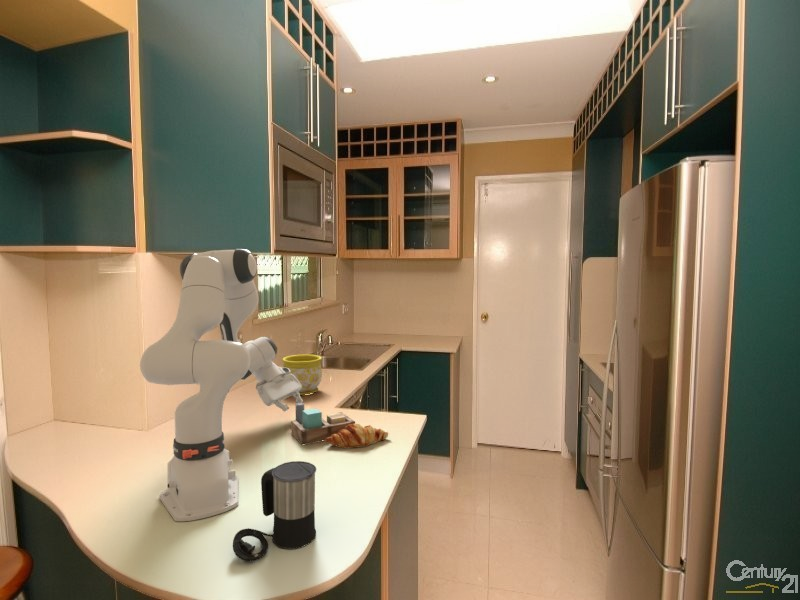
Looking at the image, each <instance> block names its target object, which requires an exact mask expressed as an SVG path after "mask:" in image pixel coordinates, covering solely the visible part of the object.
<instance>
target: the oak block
mask: <svg viewBox="0 0 800 600" xmlns="http://www.w3.org/2000/svg"><path fill="white" fill-rule="evenodd" d="M326 422H327V423H329V424H330V425H331V424H336V423H342V422H345V416H344V415H342V414H341V413H339V412H337V413H332V414H326Z"/></svg>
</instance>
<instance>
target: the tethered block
mask: <svg viewBox="0 0 800 600" xmlns="http://www.w3.org/2000/svg"><path fill="white" fill-rule="evenodd" d="M322 416H323V414H322V411H321V410H319V409H318V408H310V409H305V403H304V402H301V403H297V402H296V403H295V420H296V421H297V422H298V423H299V424H300V425H301V426H302V427H303V428H305V429H310V428H315V427H320V426H322V419H323V417H322Z"/></svg>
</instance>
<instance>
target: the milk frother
mask: <svg viewBox="0 0 800 600" xmlns="http://www.w3.org/2000/svg"><path fill="white" fill-rule="evenodd" d="M316 472H317V467H316V466H315V464H313V463H311V462H307V461H301V460H298V461H294V460H293V461H287V462H283V463H281V464H279V465H277V466H275V467H272V468H270V469H269V470H267V471H265V472H264V473H263V474H262V476H261V480H260V484H261V486H260V487H261V488H260V489H261V501H262V512H263V513H262V514H263V515H264V516H265V517H268V516H270V515H273V526H272V527H273V528H272V532H273V533H271V534H268V533H266V532H264V531H262V530H259V529H254V528H249V527H248V528H243V529H240V530H239V531H237V533H235V534H234V537H233V540H232V551H233V553H234V555H235V556H236V557H237V558H238V559H239V560H242V561H245V562H255V561H258V560H260V559H261V558H264V557H265V555H266V554H267V552H268V549H269V543H268V540H267V538H266V537H270V538H272V543H273V545H275V546H277V547H279V548H280V549H287V550H294V549H293V548H295V549H300V548H302V546H303V547H305V546H307V545H309V544H310V543H312V542H313V541H314V540H315V538H316V535H317V531H316V524H315V523H316V522H315V521H316V520H315V518H316V517H315V516H316V515H315V507H316V506H315V502H316V500H315V499H316V494H315V493H316ZM245 537H252V538H255V539H257V540H258V541H259V542H260V545H261V549H260V550H259V552H256V551H255V550H256V545H252V544H250V543H248V542H247V541H244V538H245ZM313 539H314V540H313ZM312 540H313V541H312ZM311 541H312V542H311ZM308 543H309V544H308ZM306 544H307V545H306ZM304 545H305V546H304ZM299 547H300V548H299Z"/></svg>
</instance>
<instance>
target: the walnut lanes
mask: <svg viewBox="0 0 800 600" xmlns="http://www.w3.org/2000/svg"><path fill="white" fill-rule="evenodd" d="M338 413H341V414H342V415H344V416H345V422H342V423H336V424H331V425H330V424H329V423H327V420H325V419H323V418H322V426H320V427H315V428H310V429H305V428H303V427H302V426H301V425H300V424H299V423H298V422H297V421H296V419H294V420H291V421H290V422H291V423H290V426H291V427H290V428H291V434H292V436H294V438H295V437H296V438H297V439H298V440H299V441H300V442H301V443H300V442H299V441H298V440H297V439H296V438H295V439H296V440H297V441H298V442H299V443H300V444H301V445H302V444H305V445H309V444H308V443H310V444H314V443H313V442H315V443H318V441H319V442H323V441H322V440H324V441H326V438H327V437H330V436H331V435H333V434H338V432H339V431H340V430H342V429H345V426H347V425H348V424H356V421H355V420H354V419H352V418H351V417H349V416H348V415H346V414H345V413H344V412H343V411H341V412H338Z"/></svg>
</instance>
